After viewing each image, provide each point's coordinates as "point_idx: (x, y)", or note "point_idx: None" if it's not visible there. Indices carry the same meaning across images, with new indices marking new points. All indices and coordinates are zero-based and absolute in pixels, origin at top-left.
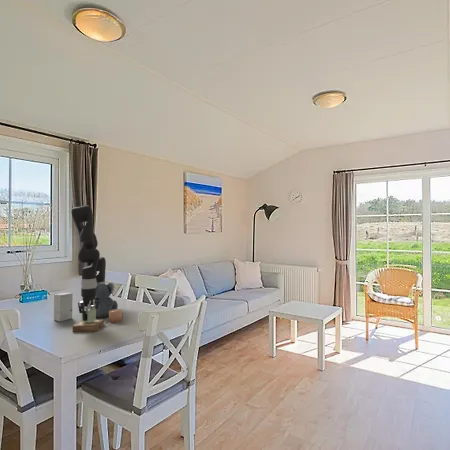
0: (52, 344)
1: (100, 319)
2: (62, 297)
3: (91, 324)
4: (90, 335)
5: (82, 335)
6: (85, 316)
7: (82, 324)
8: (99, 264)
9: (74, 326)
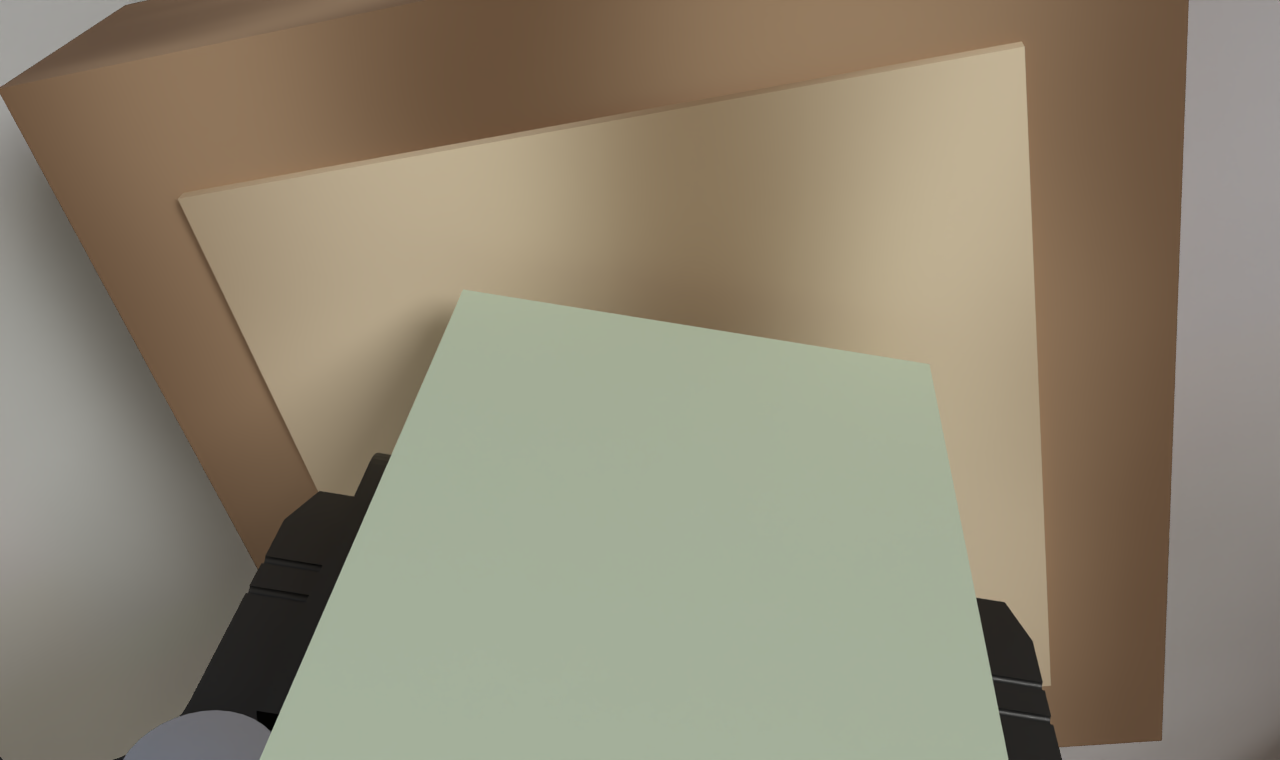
0: None
1: (1163, 650)
2: None
3: None
4: (120, 638)
5: (22, 477)
6: None
7: (317, 389)
8: None
9: (55, 160)
